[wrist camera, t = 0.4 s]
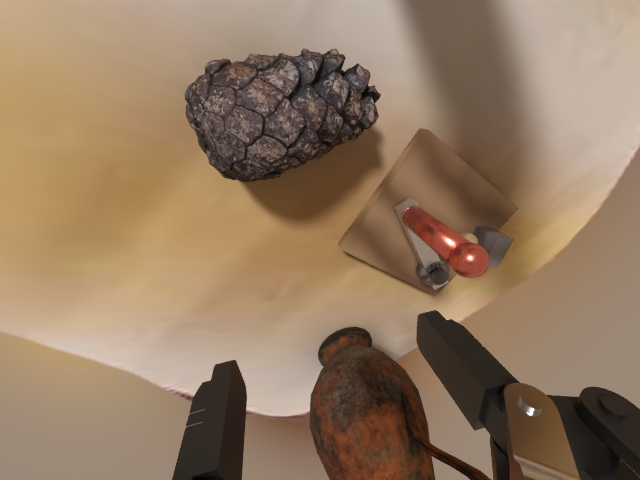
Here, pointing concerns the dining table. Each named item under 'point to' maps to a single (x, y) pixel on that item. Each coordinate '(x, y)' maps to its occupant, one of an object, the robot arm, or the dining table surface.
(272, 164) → the pine cone
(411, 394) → the pitcher
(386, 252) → the base
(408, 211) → the lever
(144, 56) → the dining table surface
